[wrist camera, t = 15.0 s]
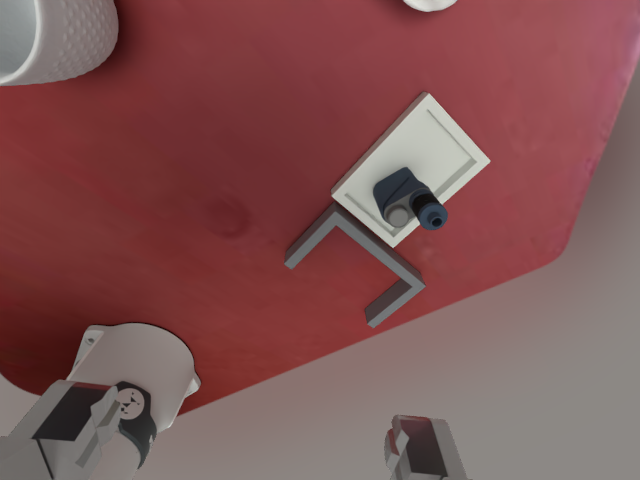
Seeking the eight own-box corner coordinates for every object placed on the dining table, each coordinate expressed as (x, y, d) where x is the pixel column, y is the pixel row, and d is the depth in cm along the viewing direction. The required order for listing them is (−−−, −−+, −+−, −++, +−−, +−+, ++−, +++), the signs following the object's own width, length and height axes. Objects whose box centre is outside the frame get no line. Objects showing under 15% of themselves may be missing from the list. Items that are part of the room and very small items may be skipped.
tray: (389, 239, 42) (393, 248, 40) (330, 189, 39) (331, 196, 37) (482, 156, 37) (490, 161, 36) (422, 91, 34) (429, 93, 32)
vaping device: (419, 181, 38) (457, 227, 28) (378, 204, 40) (399, 256, 29) (409, 162, 37) (445, 202, 27) (368, 186, 39) (385, 234, 28)
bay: (370, 313, 48) (373, 328, 45) (286, 251, 43) (283, 264, 41) (419, 272, 45) (426, 286, 42) (334, 201, 40) (335, 211, 37)
